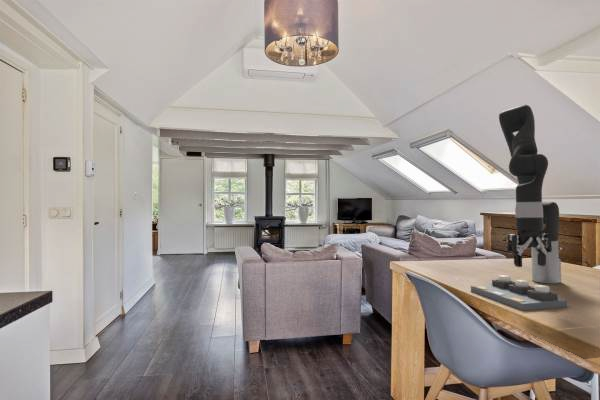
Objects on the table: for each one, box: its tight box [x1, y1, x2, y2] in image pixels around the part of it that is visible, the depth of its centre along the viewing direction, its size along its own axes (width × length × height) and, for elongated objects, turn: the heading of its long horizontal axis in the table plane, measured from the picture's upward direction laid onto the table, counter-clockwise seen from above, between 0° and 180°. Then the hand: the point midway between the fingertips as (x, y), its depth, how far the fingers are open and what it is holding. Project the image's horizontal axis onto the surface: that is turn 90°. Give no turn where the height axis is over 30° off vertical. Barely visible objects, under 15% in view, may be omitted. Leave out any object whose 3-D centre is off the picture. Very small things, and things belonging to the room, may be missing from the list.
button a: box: [497, 274, 512, 283], centre depth 127 cm, size 4×4×2 cm
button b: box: [514, 279, 530, 288], centre depth 119 cm, size 4×4×2 cm
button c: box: [533, 284, 551, 294], centre depth 111 cm, size 4×4×2 cm
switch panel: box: [470, 279, 568, 311], centre depth 118 cm, size 16×24×4 cm, turn 10°
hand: (530, 266), depth 110 cm, fingers open, 8 cm apart
